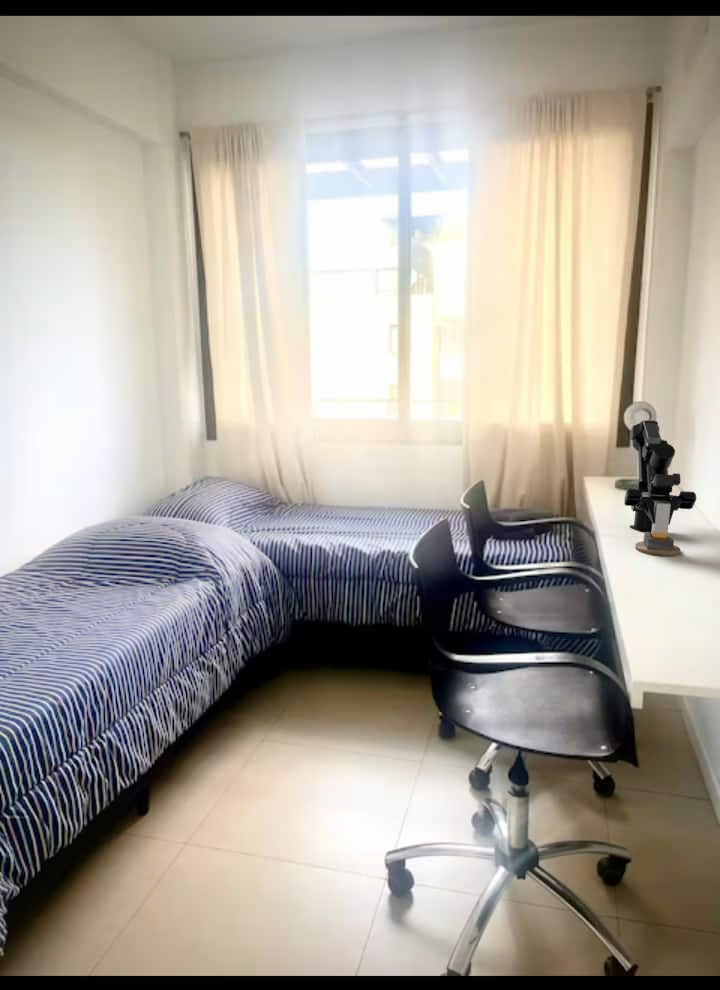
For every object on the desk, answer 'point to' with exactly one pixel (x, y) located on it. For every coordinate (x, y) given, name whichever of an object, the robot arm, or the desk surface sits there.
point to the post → (661, 520)
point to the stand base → (657, 546)
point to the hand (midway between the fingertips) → (661, 523)
